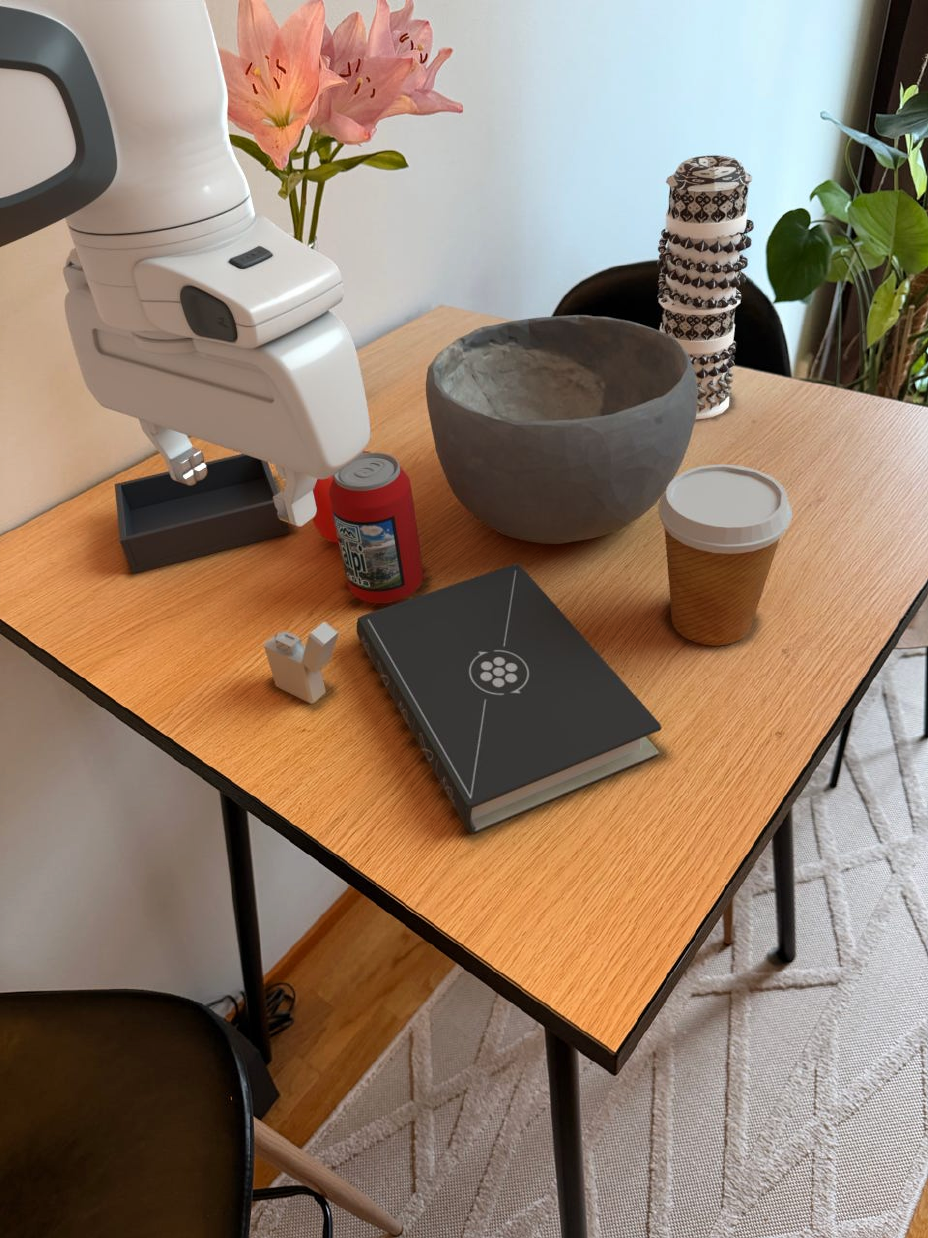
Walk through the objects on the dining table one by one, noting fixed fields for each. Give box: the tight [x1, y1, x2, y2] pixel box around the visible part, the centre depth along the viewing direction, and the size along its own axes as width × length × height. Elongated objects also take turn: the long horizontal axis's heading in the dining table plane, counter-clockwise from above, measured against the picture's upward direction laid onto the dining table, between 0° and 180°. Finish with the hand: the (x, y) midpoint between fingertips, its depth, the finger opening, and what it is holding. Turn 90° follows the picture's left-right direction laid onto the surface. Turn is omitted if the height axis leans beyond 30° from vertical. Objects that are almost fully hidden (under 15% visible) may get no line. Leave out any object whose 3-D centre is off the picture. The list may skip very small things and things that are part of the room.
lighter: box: [263, 621, 340, 705], centre depth 68 cm, size 7×2×8 cm, turn 54°
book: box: [356, 562, 663, 835], centre depth 68 cm, size 22×15×3 cm
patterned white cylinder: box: [657, 155, 755, 421], centre depth 95 cm, size 9×9×25 cm
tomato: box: [312, 450, 372, 544], centre depth 85 cm, size 9×9×8 cm
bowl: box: [425, 314, 698, 545], centre depth 84 cm, size 24×24×15 cm
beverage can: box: [329, 452, 424, 604], centre depth 77 cm, size 7×7×12 cm
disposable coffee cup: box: [657, 464, 793, 646], centre depth 70 cm, size 10×10×12 cm
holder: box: [114, 453, 291, 575], centre depth 90 cm, size 15×11×4 cm
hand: (242, 498), depth 55 cm, fingers open, 8 cm apart
